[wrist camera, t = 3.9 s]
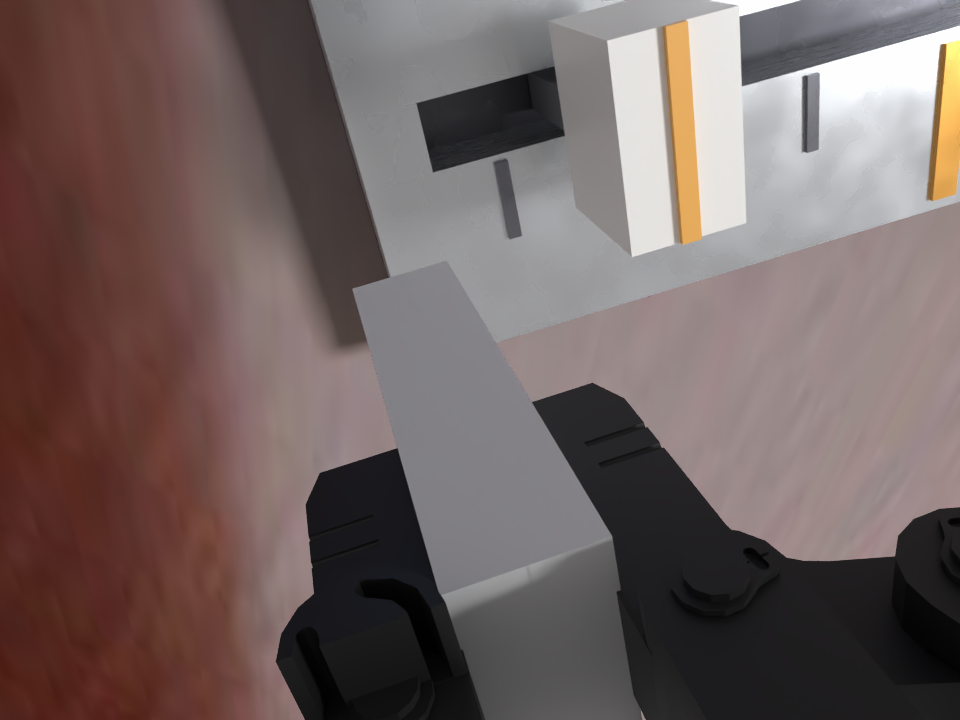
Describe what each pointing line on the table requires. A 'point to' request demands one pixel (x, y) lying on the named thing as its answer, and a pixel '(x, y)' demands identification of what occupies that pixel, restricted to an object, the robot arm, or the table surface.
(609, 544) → the robot arm
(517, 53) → the console
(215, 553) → the table surface
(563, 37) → the fader knob
